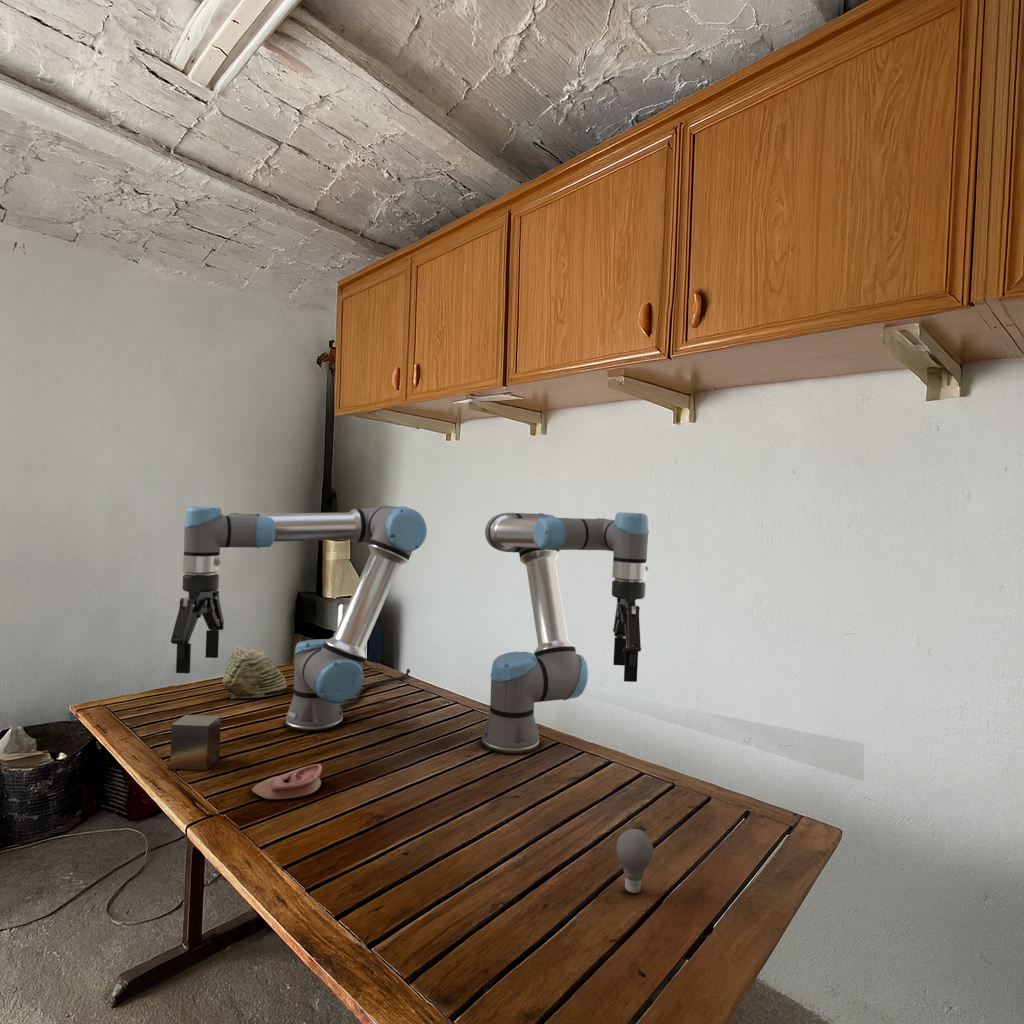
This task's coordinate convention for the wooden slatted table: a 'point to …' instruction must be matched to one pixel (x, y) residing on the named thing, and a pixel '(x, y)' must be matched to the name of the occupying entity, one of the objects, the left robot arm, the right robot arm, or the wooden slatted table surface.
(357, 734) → the wooden slatted table surface
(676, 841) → the wooden slatted table surface
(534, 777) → the wooden slatted table surface
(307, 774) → the anatomical model
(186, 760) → the block
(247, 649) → the fossil
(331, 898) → the wooden slatted table surface
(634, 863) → the light bulb
